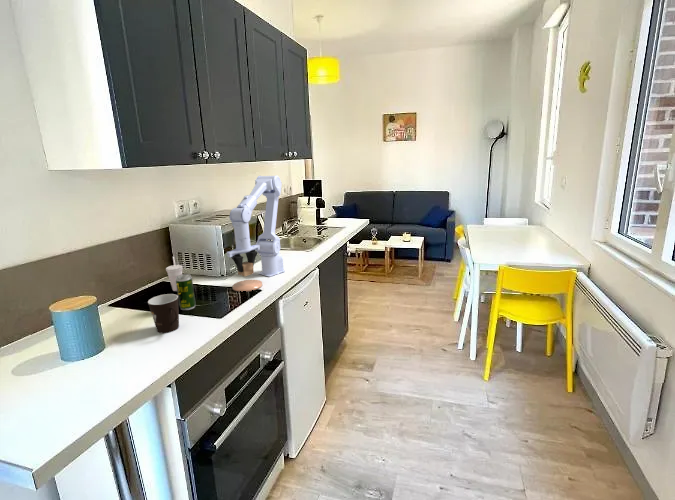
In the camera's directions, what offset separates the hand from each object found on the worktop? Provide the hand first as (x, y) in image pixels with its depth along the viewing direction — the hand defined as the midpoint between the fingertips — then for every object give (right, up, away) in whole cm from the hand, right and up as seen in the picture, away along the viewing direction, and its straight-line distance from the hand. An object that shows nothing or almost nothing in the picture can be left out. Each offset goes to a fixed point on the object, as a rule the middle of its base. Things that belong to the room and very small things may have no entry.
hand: (245, 270), depth 148 cm
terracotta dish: (0, -7, +2) cm, 7 cm away
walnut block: (0, -2, 0) cm, 2 cm away
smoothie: (-29, -8, +2) cm, 30 cm away
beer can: (-17, -13, -17) cm, 27 cm away
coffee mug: (-16, -17, -34) cm, 41 cm away
